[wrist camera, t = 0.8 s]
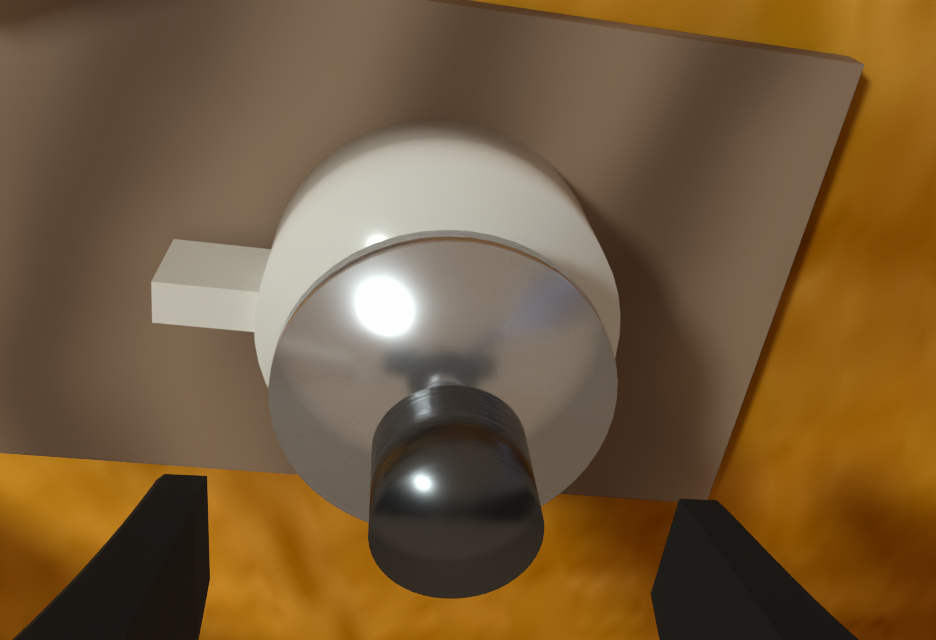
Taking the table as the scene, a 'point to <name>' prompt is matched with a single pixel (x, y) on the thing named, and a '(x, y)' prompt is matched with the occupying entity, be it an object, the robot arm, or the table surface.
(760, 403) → the table surface
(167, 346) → the board
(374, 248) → the pot lid
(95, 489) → the table surface
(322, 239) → the white mug
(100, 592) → the robot arm
